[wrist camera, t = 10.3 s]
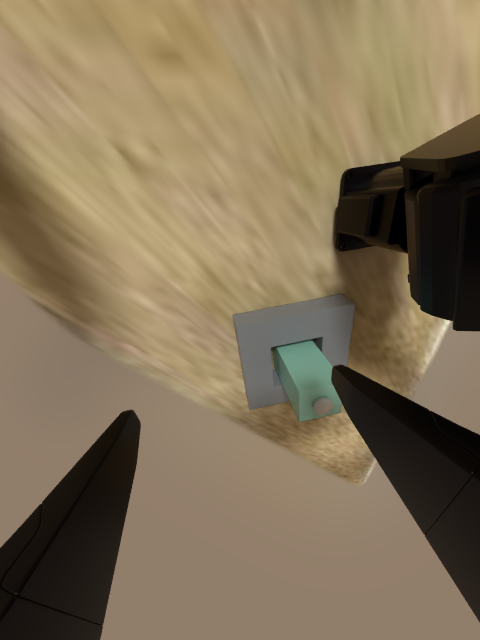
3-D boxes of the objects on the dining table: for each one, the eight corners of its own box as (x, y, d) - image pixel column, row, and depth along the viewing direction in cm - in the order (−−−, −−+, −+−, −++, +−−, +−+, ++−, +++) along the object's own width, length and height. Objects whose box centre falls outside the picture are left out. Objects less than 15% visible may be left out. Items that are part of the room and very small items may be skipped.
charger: (305, 331, 25) (349, 387, 18) (304, 358, 27) (344, 418, 19) (271, 338, 25) (302, 397, 17) (273, 365, 27) (301, 428, 19)
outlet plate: (341, 293, 23) (356, 303, 21) (332, 375, 29) (343, 389, 27) (232, 314, 22) (235, 327, 20) (246, 394, 28) (249, 410, 26)
